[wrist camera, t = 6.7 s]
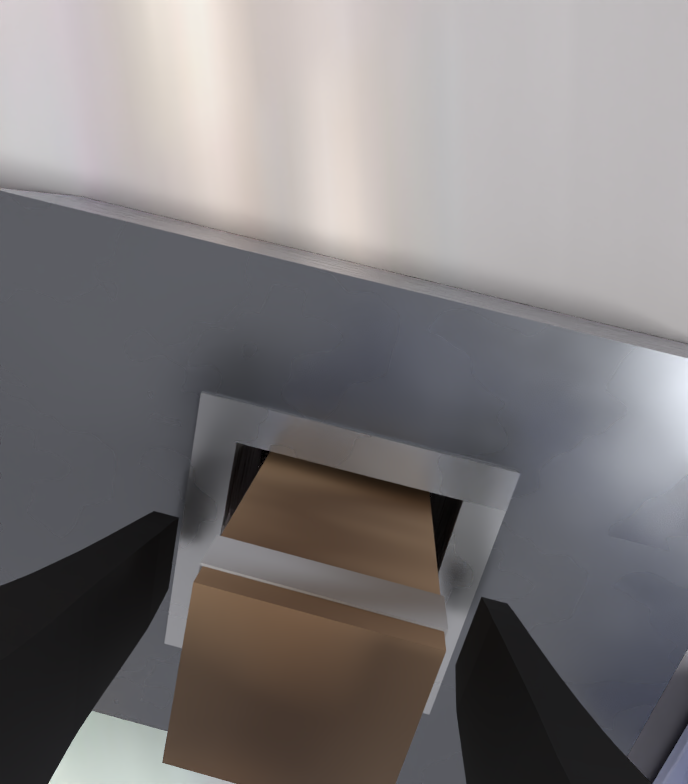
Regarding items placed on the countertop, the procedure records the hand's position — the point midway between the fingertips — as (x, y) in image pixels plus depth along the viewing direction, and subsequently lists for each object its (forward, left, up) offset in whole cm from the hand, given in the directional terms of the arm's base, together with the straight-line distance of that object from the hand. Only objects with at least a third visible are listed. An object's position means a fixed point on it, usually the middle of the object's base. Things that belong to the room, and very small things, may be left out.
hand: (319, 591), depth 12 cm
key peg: (0, 0, -5) cm, 5 cm away
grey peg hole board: (0, 0, -4) cm, 4 cm away
